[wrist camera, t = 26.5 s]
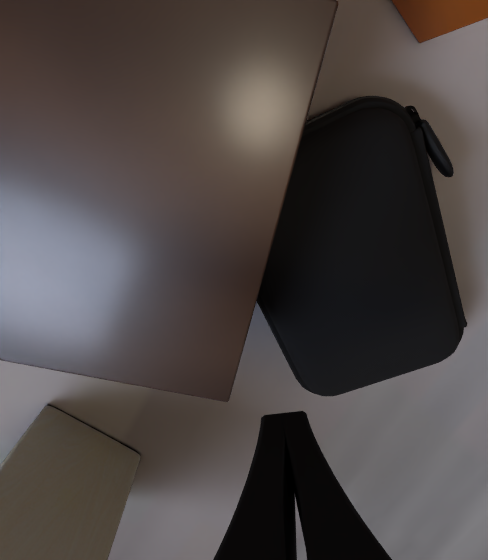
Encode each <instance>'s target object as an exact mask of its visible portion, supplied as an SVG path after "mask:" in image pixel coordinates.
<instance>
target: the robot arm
mask: <svg viewBox="0 0 488 560" xmlns="http://www.w3.org/2000/svg"><path fill="white" fill-rule="evenodd" d="M295 497H296V502H297V507H298V512H299V517H300V522H301V527H302V532H303V536H304V541H305V546H306V553H307V560H392V559H391V558H390V557H389V555H388V554H387V553H386V551H385V550H384V549H383V547H382V546H381V545H380V543H379V542H378V541H377V539H376V538H375V537H374V535H373V534H372V532H371V531H370V530H369V528H368V527H367V525H366V524H365V523H364V521H363V520H362V518H361V517H360V515H359V514H358V512H357V511H356V509H355V508H354V506H353V505H352V503H351V502H350V500H349V499H348V497H347V495H346V494H345V492H344V491H343V489H342V487H341V486H340V484H339V482H338V481H337V479H336V477H335V476H334V474H333V472H332V470H331V468H330V466H329V465H328V463H327V461H326V459H325V457H324V455H323V453H322V451H321V449H320V447H319V445H318V443H317V441H316V439H315V437H314V434H313V432H312V429H311V427H310V424H309V421H308V418H307V414H306V413H305V412H303V411H299V412H289V413H280V414H271V415H264V416H263V417H262V418H261V425H260V431H259V437H258V441H257V446H256V450H255V454H254V457H253V461H252V464H251V467H250V471H249V474H248V477H247V480H246V483H245V486H244V489H243V491H242V494H241V497H240V500H239V502H238V505H237V508H236V510H235V513H234V515H233V518H232V520H231V523H230V525H229V527H228V530H227V532H226V534H225V536H224V538H223V541H222V543H221V545H220V547H219V549H218V551H217V553H216V555H215V557H214V559H213V560H297V553H296V521H295Z"/></svg>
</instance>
